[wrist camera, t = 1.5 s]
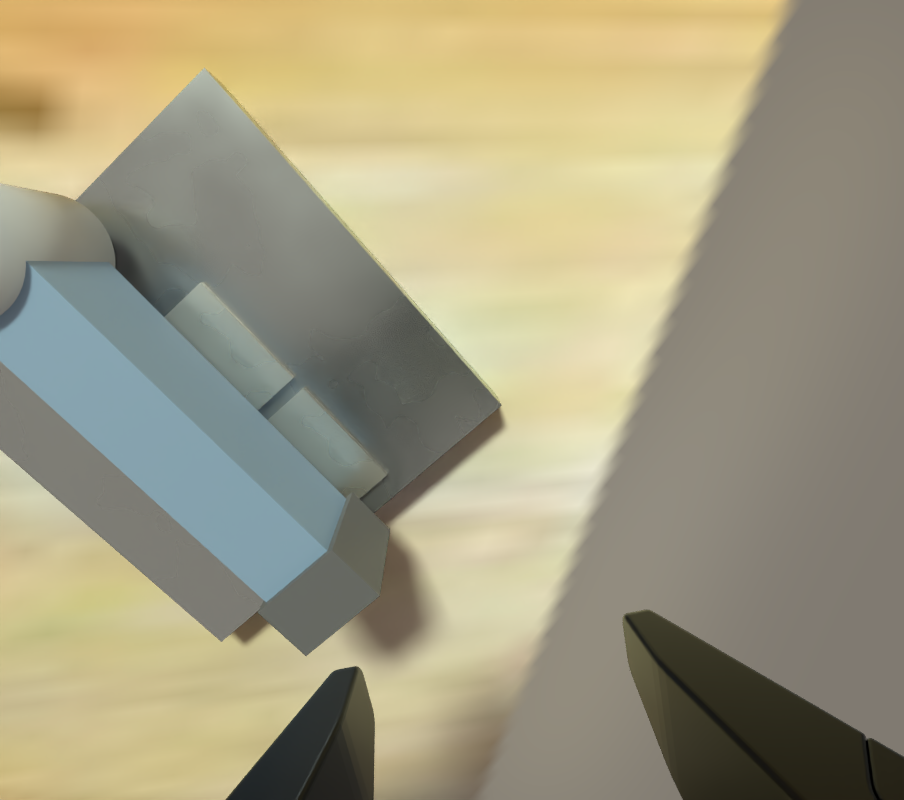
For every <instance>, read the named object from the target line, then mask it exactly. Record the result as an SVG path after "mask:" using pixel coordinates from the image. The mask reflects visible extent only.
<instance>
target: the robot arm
mask: <svg viewBox="0 0 904 800" xmlns="http://www.w3.org/2000/svg"><path fill="white" fill-rule="evenodd" d="M623 629H624V636H625V643H626V651H627V658H628V663H629V667H630V670H631V674H632V676H633V679H634V682H635V684H636V687H637V689H638V692H639V694H640V697H641V700H642V702H643V705H644V708H645V710H646V713H647V715H648V718H649V720H650V723H651V725H652V728H653V731H654V733H655V736H656V738H657V741H658V744H659V746H660V749H661V751H662V754H663V757H664V759H665V761H666V764H667V766H668V769H669V771H670V773H671V776H672V778H673V780H674V782H675V784H676V786H677V788H678V790H679V792H680V794H681V796H682V798H683V800H904V756H902V755H900V754H898V753H897V752H895V751H893V750H892V749H890V748H888V747H886V746H885V745H883V744H881V743H879V742H878V741H876V740H874V739H872V738H868V739H867V740H866V736H865V735H864V734H863V733H862V732H860V731H858V730H857V729H855V728H853V727H851V726H850V725H848V724H846V723H844V722H843V721H841V720H839V719H838V718H836V717H834V716H832V715H831V714H829V713H827V712H825V711H824V710H822V709H820V708H819V707H817V706H815V705H813V704H812V703H810V702H808V701H806V700H805V699H803V698H801V697H800V696H798V695H796V694H794V693H793V692H791V691H789V690H787V689H786V688H784V687H782V686H780V685H779V684H777V683H775V682H774V681H772V680H770V679H768V678H767V677H765V676H763V675H761V674H760V673H758V672H756V671H755V670H753V669H751V668H750V667H748V666H746V665H744V664H743V663H741V662H739V661H737V660H736V659H734V658H732V657H730V656H729V655H727V654H725V653H724V652H722V651H720V650H718V649H717V648H715V647H713V646H712V645H710V644H708V643H706V642H705V641H703V640H701V639H699V638H698V637H696V636H694V635H693V634H691V633H689V632H687V631H686V630H684V629H682V628H680V627H679V626H677V625H675V624H674V623H672V622H670V621H668V620H667V619H665V618H663V617H661V616H659V615H658V614H656V613H655V612H653V611H651V610H641V611H636V612H631V613H626V614H625V615H624V616H623ZM374 739H375V722H374V713H373V708H372V704H371V701H370V697H369V693H368V690H367V686H366V682H365V679H364V675H363V672H362V670H361V669H360V668H359V667H357V666H355V667H349V668H344V669H339V670H335V671H334V672H332V673H331V674H330V675H329V677H328V678H327V679H326V680H325V681H324V683H323V684H322V685H321V686H320V687H319V689H318V690H317V691H316V692H315V693H314V695H313V696H312V697H311V698H310V699H309V701H308V702H307V703H306V704H305V705H304V707H303V708H302V709H301V710H300V711H299V712H298V714H297V715H296V716H295V717H294V718H293V720H292V721H291V722H290V723H289V724H288V726H287V727H286V728H285V729H284V730H283V732H282V733H281V734H280V735H279V736H278V738H277V739H276V740H275V741H274V742H273V744H272V745H271V746H270V747H269V748H268V750H267V751H266V752H265V753H264V754H263V756H262V757H261V758H260V759H259V760H258V761H257V763H256V764H255V765H254V766H253V767H252V769H251V770H250V771H249V772H248V773H247V775H246V776H245V777H244V778H243V779H242V781H241V782H240V783H239V784H238V785H237V787H236V788H235V789H234V790H233V791H232V793H231V794H230V795H229V796H228V797H227V799H226V800H374Z"/></svg>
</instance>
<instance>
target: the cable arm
mask: <svg viewBox="0 0 904 800" xmlns="http://www.w3.org/2000/svg"><path fill="white" fill-rule="evenodd" d="M0 361H1V362H2V363H3V364H4V365H5V366H6V367H7V368H8V369H9V370H11V371H12V372H13V373H14V374H15V375H16V376H17V377H18V378H19V379H20V380H22V381H23V382H24V383H25V384H26V385H27V386H28V387H29V388H30V389H31V390H33V391H34V392H35V393H36V394H37V395H38V396H39V397H40V398H41V399H42V400H44V401H45V402H46V403H47V404H48V405H49V406H50V407H51V408H52V409H54V410H55V411H56V412H57V413H58V414H59V415H60V416H61V417H62V418H63V419H65V420H66V421H67V422H68V423H69V424H70V425H71V426H72V427H73V428H74V429H76V430H77V431H78V432H79V433H80V434H81V435H82V436H83V437H84V438H85V439H87V440H88V441H89V442H90V443H91V444H92V445H93V446H94V447H95V448H96V449H98V450H99V451H100V452H101V453H102V454H103V455H104V456H105V457H106V458H107V459H109V460H110V461H111V462H112V463H113V464H114V465H115V466H116V467H117V468H119V469H120V470H121V471H122V472H123V473H124V474H125V475H126V476H127V477H128V478H130V479H131V480H132V481H133V482H134V483H135V484H136V485H137V486H138V487H139V488H141V489H142V490H143V491H144V492H145V493H146V494H147V495H148V496H149V497H150V498H152V499H153V500H154V501H155V502H156V503H157V504H158V505H159V506H160V507H161V508H163V509H164V510H165V511H166V512H167V513H168V514H169V515H170V516H171V517H172V518H174V519H175V520H176V521H177V522H178V523H179V524H180V525H181V526H182V527H184V528H185V529H186V530H187V531H188V532H189V533H190V534H191V535H192V536H193V537H195V538H196V539H197V540H198V541H199V542H200V543H201V544H202V545H203V546H204V547H206V548H207V549H208V550H209V551H210V552H211V553H212V554H213V555H214V556H215V557H217V558H218V559H219V560H220V561H221V562H222V563H223V564H224V565H225V566H226V567H228V568H229V569H230V570H231V571H232V572H233V573H234V574H235V575H236V576H237V577H239V578H240V579H241V580H242V581H243V582H244V583H245V584H246V585H247V586H249V587H250V588H251V589H252V590H253V591H254V592H255V593H256V594H257V595H258V596H260V597H261V598H262V599H263V600H264V601H263V603H262V605H261V607H260V609H259V611H258V613H259V614H260V615H261V616H262V617H263V618H264V619H265V620H266V621H267V622H269V623H270V624H271V625H272V626H273V627H274V628H275V629H276V630H277V631H279V632H280V633H281V634H282V635H283V636H284V637H285V638H286V639H288V640H289V641H290V642H291V643H292V644H293V645H294V646H295V647H296V648H298V649H299V650H300V651H301V652H302V653H303V654H304V655H305V656H307V655H308V654H309V653H310V652H312V651H313V650H314V649H315V648H317V647H318V646H319V645H320V644H321V643H323V642H324V641H325V640H326V639H328V638H329V637H330V636H331V635H333V634H334V633H335V632H336V631H337V630H339V629H340V628H341V627H342V626H344V625H345V624H346V623H347V622H348V621H350V620H351V619H352V618H353V617H355V616H356V615H357V614H358V613H359V612H361V611H362V610H363V609H364V608H366V607H367V606H368V605H369V604H370V603H372V602H373V601H374V600H375V599H377V598H378V597H379V596H380V591H381V585H382V578H383V572H384V566H385V559H386V553H387V546H388V540H389V533H390V529H389V528H388V527H387V526H386V525H385V524H384V523H383V522H382V521H381V520H380V519H379V518H378V517H377V516H376V515H375V514H374V513H373V512H372V511H371V510H370V509H369V508H368V507H367V506H366V505H365V504H364V503H363V502H362V501H361V500H360V499H359V498H358V497H357V496H356V495H355V494H354V493H353V492H351V493H350V494H349V495H348V496H347V497H346V498H345V497H344V496H343V495H342V494H341V493H340V492H339V491H338V490H337V489H336V488H335V487H334V486H333V485H332V484H331V483H330V482H329V481H328V480H327V479H326V478H325V477H324V476H323V475H322V474H321V473H320V472H319V471H318V470H317V469H316V468H315V467H314V466H313V465H312V464H311V463H310V462H309V461H308V460H307V459H306V458H305V457H304V456H303V455H302V454H301V453H300V452H299V451H298V450H297V449H296V448H295V447H294V446H293V445H292V444H291V443H290V442H289V441H288V440H287V439H286V438H285V437H284V436H283V435H282V434H281V433H280V432H279V431H278V430H277V429H276V428H275V427H274V426H273V425H272V424H271V423H270V422H269V421H268V420H267V419H266V418H265V417H264V416H263V415H262V414H261V413H260V412H259V411H258V410H257V409H256V408H255V407H254V406H253V405H252V404H251V403H250V402H249V401H248V400H247V399H246V398H245V397H244V396H243V395H242V394H241V393H240V392H239V391H238V390H237V389H236V388H235V387H234V386H233V385H232V384H231V383H230V382H229V381H228V380H227V379H226V378H225V377H224V376H223V375H222V374H221V373H220V372H219V371H218V370H217V369H216V368H215V367H214V366H213V365H212V364H210V363H209V362H208V361H207V360H206V359H205V358H204V357H203V356H202V355H201V354H200V353H199V352H198V351H197V350H196V349H195V348H194V347H193V346H192V345H191V344H190V343H189V342H188V341H187V340H186V339H185V338H184V337H183V336H182V335H181V334H180V333H179V332H178V331H177V330H176V329H175V328H174V327H173V326H172V325H171V324H170V323H169V322H168V321H167V320H166V319H165V318H164V317H163V316H162V315H161V314H160V313H159V312H158V311H157V310H156V309H155V308H154V307H153V306H152V305H151V304H150V303H149V302H148V301H147V300H146V299H145V298H144V297H143V296H142V295H141V294H140V293H139V292H138V291H137V290H136V289H135V288H134V287H133V286H132V285H131V284H130V283H129V282H128V281H127V280H126V279H125V278H124V277H123V276H122V275H121V274H120V273H119V272H118V271H117V270H116V269H115V253H114V248H113V244H112V242H111V239H110V236H109V234H108V233H107V231H106V229H105V227H104V226H103V224H102V223H101V222H100V220H99V219H98V218H97V217H96V216H95V215H94V214H93V213H92V212H91V211H90V210H89V209H87V208H86V207H85V206H83V205H82V204H80V203H78V202H77V201H75V200H73V199H70V198H68V197H65V196H61V195H58V194H53V193H47V192H42V191H37V190H32V189H27V188H22V187H17V186H11V185H6V184H1V183H0Z"/></svg>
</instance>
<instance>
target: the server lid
mask: <svg viewBox="0 0 904 800" xmlns="http://www.w3.org/2000/svg"><path fill="white" fill-rule="evenodd" d="M76 201H77V202H78V203H80V204H82V205H83V206H85V207H86V208H87V209H89V210H90V211H91V212H92V213H93V214H94V215H95V216H96V217H97V218H98V219H99V220H100V222H101V223H102V224H103V226H104V227H105V229H106V231H107V233H108V234H109V236H110V239H111V242H112V244H113V248H114V253H115V269H116V270H117V271H118V272H119V273H120V274H121V275H122V276H123V277H124V278H125V279H126V280H127V281H128V282H129V283H130V284H131V285H132V286H133V287H134V288H135V289H136V290H137V291H138V292H139V293H140V294H141V295H142V296H143V297H144V298H145V299H146V300H147V301H148V302H149V303H150V304H151V305H152V306H153V307H154V308H155V309H156V310H157V311H158V312H159V313H160V314H161V315H162V316H163V317H164V318H165V319H166V320H167V321H168V322H169V323H170V324H171V325H172V326H173V327H174V328H175V329H176V330H177V331H178V332H179V333H180V334H181V335H182V336H183V337H184V338H185V339H186V340H187V341H188V342H189V343H190V344H191V345H192V346H193V347H194V348H195V349H196V350H197V351H198V352H199V353H200V354H201V355H202V356H203V357H204V358H205V359H206V360H207V361H208V362H209V363H210V364H212V365H213V366H214V367H215V368H216V369H217V370H218V371H219V372H220V373H221V374H222V375H223V376H224V377H225V378H226V379H227V380H228V381H229V382H230V383H231V384H232V385H233V386H234V387H235V388H236V389H237V390H238V391H239V392H240V393H241V394H242V395H243V396H244V397H245V398H246V399H247V400H248V401H249V402H250V403H251V404H252V405H253V406H254V407H255V408H256V409H257V410H258V411H259V412H260V413H261V414H262V415H263V416H264V417H265V418H266V419H267V420H268V421H269V422H270V423H271V424H272V425H273V426H274V427H275V428H276V429H277V430H278V431H279V432H280V433H281V434H282V435H283V436H284V437H285V438H286V439H287V440H288V441H289V442H290V443H291V444H292V445H293V446H294V447H295V448H296V449H297V450H298V451H299V452H300V453H301V454H302V455H303V456H304V457H305V458H306V459H307V460H308V461H309V462H310V463H311V464H312V465H313V466H314V467H315V468H316V469H317V470H318V471H319V472H320V473H321V474H322V475H323V476H324V477H325V478H326V479H327V480H328V481H329V482H330V483H331V484H332V485H333V486H334V487H335V488H336V489H337V490H338V491H339V492H340V493H341V494H342V495H343V496H344V497H345V498H346V497H347V496H348V495H349V494H350V493H351V492H353V493H354V494H355V495H356V496H357V497H358V498H359V499H360V500H361V501H362V502H363V503H364V504H365V505H366V506H367V507H368V508H369V509H370V510H371V511H372V512H373V513H375V512H376V511H377V510H378V509H379V508H381V507H382V506H383V505H384V504H385V503H386V502H388V501H389V500H390V499H391V498H392V497H394V496H395V495H396V494H397V493H398V492H400V491H401V490H402V489H403V488H404V487H405V486H407V485H408V484H409V483H410V482H411V481H413V480H414V479H415V478H416V477H417V476H418V475H420V474H421V473H422V472H423V471H424V470H426V469H427V468H428V467H429V466H430V465H432V464H433V463H434V462H435V461H436V460H437V459H439V458H440V457H441V456H442V455H443V454H445V453H446V452H447V451H448V450H449V449H450V448H452V447H453V446H454V445H455V444H456V443H458V442H459V441H460V440H461V439H462V438H464V437H465V436H466V435H467V434H468V433H469V432H471V431H472V430H473V429H474V428H475V427H477V426H478V425H479V424H480V423H481V422H482V421H484V420H485V419H486V418H487V417H488V416H490V415H491V414H492V413H493V412H494V411H496V410H497V409H498V408H499V407H500V406H501V403H500V401H499V399H498V397H497V396H496V395H495V393H494V392H493V391H492V390H491V389H490V388H489V387H488V385H487V384H486V383H485V382H484V381H483V380H482V379H481V377H480V376H479V375H478V374H477V373H476V372H475V371H474V370H473V368H472V367H471V366H470V365H469V364H468V363H467V362H466V360H465V359H464V358H463V357H462V356H461V355H460V354H459V352H458V351H457V350H456V349H455V348H454V347H453V346H452V345H451V343H450V342H449V341H448V340H447V339H446V338H445V337H444V335H443V334H442V333H441V332H440V331H439V330H438V329H437V327H436V326H435V325H434V324H433V323H432V322H431V321H430V319H429V318H428V317H427V316H426V315H425V314H424V313H423V312H422V310H421V309H420V308H419V307H418V306H417V305H416V304H415V302H414V301H413V300H412V299H411V298H410V297H409V296H408V294H407V293H406V292H405V291H404V290H403V289H402V288H401V287H400V285H399V284H398V283H397V282H396V281H395V280H394V279H393V277H392V276H391V275H390V274H389V273H388V272H387V271H386V269H385V268H384V267H383V266H382V265H381V264H380V263H379V261H378V260H377V259H376V258H375V257H374V256H373V255H372V254H371V252H370V251H369V250H368V249H367V248H366V247H365V246H364V244H363V243H362V242H361V241H360V240H359V239H358V238H357V236H356V235H355V234H354V233H353V232H352V231H351V230H350V229H349V227H348V226H347V225H346V224H345V223H344V222H343V221H342V219H341V218H340V217H339V216H338V215H337V214H336V213H335V211H334V210H333V209H332V208H331V207H330V206H329V205H328V203H327V202H326V201H325V200H324V199H323V198H322V197H321V196H320V194H319V193H318V192H317V191H316V190H315V189H314V188H313V186H312V185H311V184H310V183H309V182H308V181H307V180H306V178H305V177H304V176H303V175H302V174H301V173H300V172H299V171H298V169H297V168H296V167H295V166H294V165H293V164H292V163H291V161H290V160H289V159H288V158H287V157H286V156H285V155H284V153H283V152H282V151H281V150H280V149H279V148H278V147H277V145H276V144H275V143H274V142H273V141H272V140H271V139H270V138H269V136H268V135H267V134H266V133H265V132H264V131H263V130H262V128H261V127H260V126H259V125H258V124H257V123H256V122H255V120H254V119H253V118H252V117H251V116H250V115H249V114H248V113H247V111H246V110H245V109H244V108H243V107H242V106H241V105H240V103H239V102H238V101H237V100H236V99H235V98H234V97H233V95H232V94H231V93H230V92H229V91H228V90H227V89H226V87H225V86H224V85H223V84H222V83H221V82H220V81H219V80H218V79H217V78H215V77H214V76H213V75H212V74H211V73H210V72H209V71H207V70H206V69H205V68H204V69H203V70H202V71H201V72H200V73H199V74H198V75H197V76H196V77H195V78H194V79H193V80H192V81H191V82H190V83H189V84H188V85H187V86H186V87H185V88H184V89H183V90H182V91H181V92H180V93H179V94H178V96H177V97H176V98H175V99H174V100H173V101H172V102H171V103H170V104H169V105H168V106H167V107H166V108H165V109H164V110H163V111H162V112H161V113H160V114H159V115H158V116H157V117H156V118H155V119H154V120H153V121H152V122H151V123H150V124H149V125H148V126H147V128H146V129H145V130H144V131H143V132H142V133H141V134H140V135H139V136H138V137H137V138H136V139H135V140H134V141H133V142H132V143H131V144H130V145H129V146H128V147H127V148H126V149H125V150H124V151H123V152H122V153H121V154H120V155H119V156H118V157H117V158H116V159H115V161H114V162H113V163H112V164H111V165H110V166H109V167H108V168H107V169H106V170H105V171H104V172H103V173H102V174H101V175H100V176H99V177H98V178H97V179H96V180H95V181H94V182H93V183H92V184H91V185H90V186H89V187H88V188H87V189H86V190H85V191H84V192H83V194H82V195H81V196H80V197H79V198H78V199H77V200H76ZM0 450H1V451H3V452H4V453H5V454H6V455H7V456H8V457H10V458H11V459H12V460H13V461H14V462H15V463H16V464H18V465H19V466H20V467H21V468H22V469H23V470H24V471H26V472H27V473H28V474H29V475H30V476H31V477H33V478H34V479H35V480H36V481H37V482H38V483H39V484H41V485H42V486H43V487H44V488H45V489H46V490H47V491H49V492H50V493H51V494H52V495H53V496H54V497H56V498H57V499H58V500H59V501H60V502H61V503H62V504H64V505H65V506H66V507H67V508H68V509H69V510H70V511H72V512H73V513H74V514H75V515H76V516H77V517H79V518H80V519H81V520H82V521H83V522H84V523H85V524H87V525H88V526H89V527H90V528H91V529H92V530H93V531H95V532H96V533H97V534H98V535H99V536H100V537H102V538H103V539H104V540H105V541H106V542H107V543H108V544H110V545H111V546H112V547H113V548H114V549H115V550H116V551H118V552H119V553H120V554H121V555H122V556H123V557H125V558H126V559H127V560H128V561H129V562H130V563H131V564H133V565H134V566H135V567H136V568H137V569H138V570H139V571H141V572H142V573H143V574H144V575H145V576H146V577H148V578H149V579H150V580H151V581H152V582H153V583H154V584H156V585H157V586H158V587H159V588H160V589H161V590H162V591H164V592H165V593H166V594H167V595H168V596H169V597H171V598H172V599H173V600H174V601H175V602H176V603H177V604H179V605H180V606H181V607H182V608H183V609H184V610H185V611H187V612H188V613H189V614H190V615H191V616H192V617H194V618H195V619H196V620H197V621H198V622H199V623H200V624H202V625H203V626H204V627H205V628H206V629H207V630H208V631H210V632H211V633H212V634H213V635H214V636H215V637H217V638H218V639H219V640H220V641H221V642H222V641H223V640H224V639H225V638H227V637H228V636H229V635H230V634H231V633H232V632H234V631H235V630H236V629H237V628H238V627H240V626H241V625H242V624H243V623H244V622H245V621H247V620H248V619H249V618H250V617H251V616H253V615H254V614H255V613H256V612H257V611H258V610H259V609H260V607H261V605H262V603H263V601H264V600H263V599H262V598H261V597H260V596H258V595H257V594H256V593H255V592H254V591H253V590H252V589H251V588H250V587H249V586H247V585H246V584H245V583H244V582H243V581H242V580H241V579H240V578H239V577H237V576H236V575H235V574H234V573H233V572H232V571H231V570H230V569H229V568H228V567H226V566H225V565H224V564H223V563H222V562H221V561H220V560H219V559H218V558H217V557H215V556H214V555H213V554H212V553H211V552H210V551H209V550H208V549H207V548H206V547H204V546H203V545H202V544H201V543H200V542H199V541H198V540H197V539H196V538H195V537H193V536H192V535H191V534H190V533H189V532H188V531H187V530H186V529H185V528H184V527H182V526H181V525H180V524H179V523H178V522H177V521H176V520H175V519H174V518H172V517H171V516H170V515H169V514H168V513H167V512H166V511H165V510H164V509H163V508H161V507H160V506H159V505H158V504H157V503H156V502H155V501H154V500H153V499H152V498H150V497H149V496H148V495H147V494H146V493H145V492H144V491H143V490H142V489H141V488H139V487H138V486H137V485H136V484H135V483H134V482H133V481H132V480H131V479H130V478H128V477H127V476H126V475H125V474H124V473H123V472H122V471H121V470H120V469H119V468H117V467H116V466H115V465H114V464H113V463H112V462H111V461H110V460H109V459H107V458H106V457H105V456H104V455H103V454H102V453H101V452H100V451H99V450H98V449H96V448H95V447H94V446H93V445H92V444H91V443H90V442H89V441H88V440H87V439H85V438H84V437H83V436H82V435H81V434H80V433H79V432H78V431H77V430H76V429H74V428H73V427H72V426H71V425H70V424H69V423H68V422H67V421H66V420H65V419H63V418H62V417H61V416H60V415H59V414H58V413H57V412H56V411H55V410H54V409H52V408H51V407H50V406H49V405H48V404H47V403H46V402H45V401H44V400H42V399H41V398H40V397H39V396H38V395H37V394H36V393H35V392H34V391H33V390H31V389H30V388H29V387H28V386H27V385H26V384H25V383H24V382H23V381H22V380H20V379H19V378H18V377H17V376H16V375H15V374H14V373H13V372H12V371H11V370H9V369H8V368H7V367H6V366H5V365H4V364H3V363H2V362H1V361H0Z"/></svg>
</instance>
